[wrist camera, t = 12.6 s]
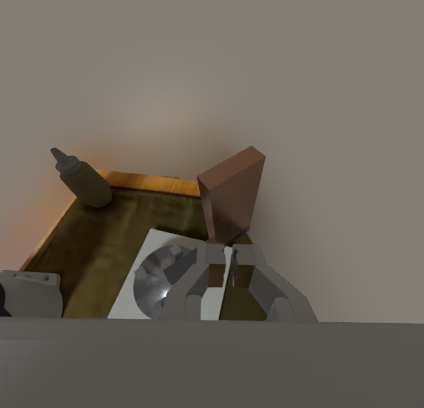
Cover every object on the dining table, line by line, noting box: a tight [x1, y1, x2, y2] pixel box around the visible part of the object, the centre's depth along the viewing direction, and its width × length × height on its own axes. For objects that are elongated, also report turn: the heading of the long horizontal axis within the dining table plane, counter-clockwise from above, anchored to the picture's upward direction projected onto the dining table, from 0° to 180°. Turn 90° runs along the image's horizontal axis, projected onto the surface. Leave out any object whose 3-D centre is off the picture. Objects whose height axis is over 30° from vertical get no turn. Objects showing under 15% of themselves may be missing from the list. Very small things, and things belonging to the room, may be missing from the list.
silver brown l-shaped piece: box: [133, 146, 265, 319], centre depth 29 cm, size 24×13×24 cm, turn 125°
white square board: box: [108, 229, 233, 320], centre depth 38 cm, size 20×20×2 cm
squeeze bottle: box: [51, 148, 112, 208], centre depth 45 cm, size 8×8×18 cm
